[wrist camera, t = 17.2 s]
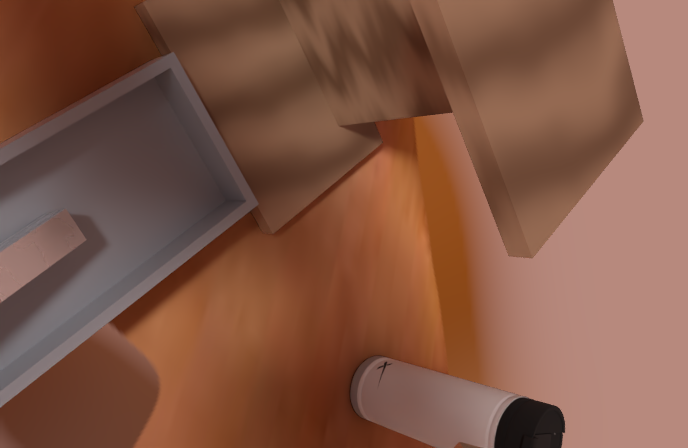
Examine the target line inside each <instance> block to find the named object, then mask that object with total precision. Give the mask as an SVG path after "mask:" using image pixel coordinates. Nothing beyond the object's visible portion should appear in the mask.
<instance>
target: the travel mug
mask: <svg viewBox="0 0 688 448" xmlns="http://www.w3.org/2000/svg"><path fill="white" fill-rule="evenodd" d="M350 398H351V403H352V406H353V408H354V410H355V412H356V413H357V414H358V415H359V416H360V417H362V418H364V419H366V420H369V421H371V422H374V423H376V424H379V425H381V426H384V427H386V428H389V429H391V430H393V431H396V432H398V433H401V434H403V435H406V436H408V437H411V438H413V439H416V440H418V441H421V442H423V443H426V444H428V445H431V446H433V447H436V448H454V447H455V445H457V444H458V443H459V442H463V443H466V444H470V445H474V446H478V447H482V448H561V446H562V438H563V434H562V432H563V433H565V421H564V417H563V414H562V412H561V410H560V409H559V408H558V407H557V406H554V405H550V404H547V403H543V402H539V401H535V400H533V399H529V398H528V397H525V396H521V395H518V394H514V393H511V392H507V391H503V390H500V389H496V388H493V387H490V386H486V385H482V384H479V383H475V382H472V381H468V380H464V379H461V378H458V377H454V376H451V375H447V374H444V373H440V372H437V371H433V370H430V369H426V368H423V367H419V366H416V365H412V364H409V363H405V362H401V361H398V360H394V359H391V358H387V357H384V356H373V357H370V358H369V359H367V360H365V361H364V362H363V363H362V364H361V365H360V366H359V368H358V369H357V371H356V373H355V374H354V377H353V379H352V383H351V389H350Z"/></svg>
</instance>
